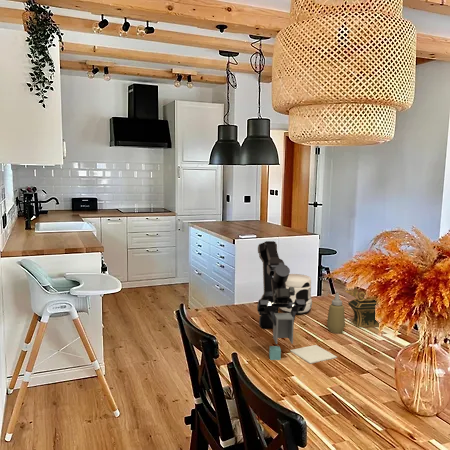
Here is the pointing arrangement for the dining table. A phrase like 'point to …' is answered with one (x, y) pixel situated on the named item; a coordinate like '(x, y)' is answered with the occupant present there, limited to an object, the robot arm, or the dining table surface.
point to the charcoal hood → (283, 326)
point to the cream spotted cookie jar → (299, 291)
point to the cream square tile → (313, 354)
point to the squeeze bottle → (336, 316)
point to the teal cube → (274, 352)
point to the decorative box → (363, 310)
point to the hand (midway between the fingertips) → (284, 325)
